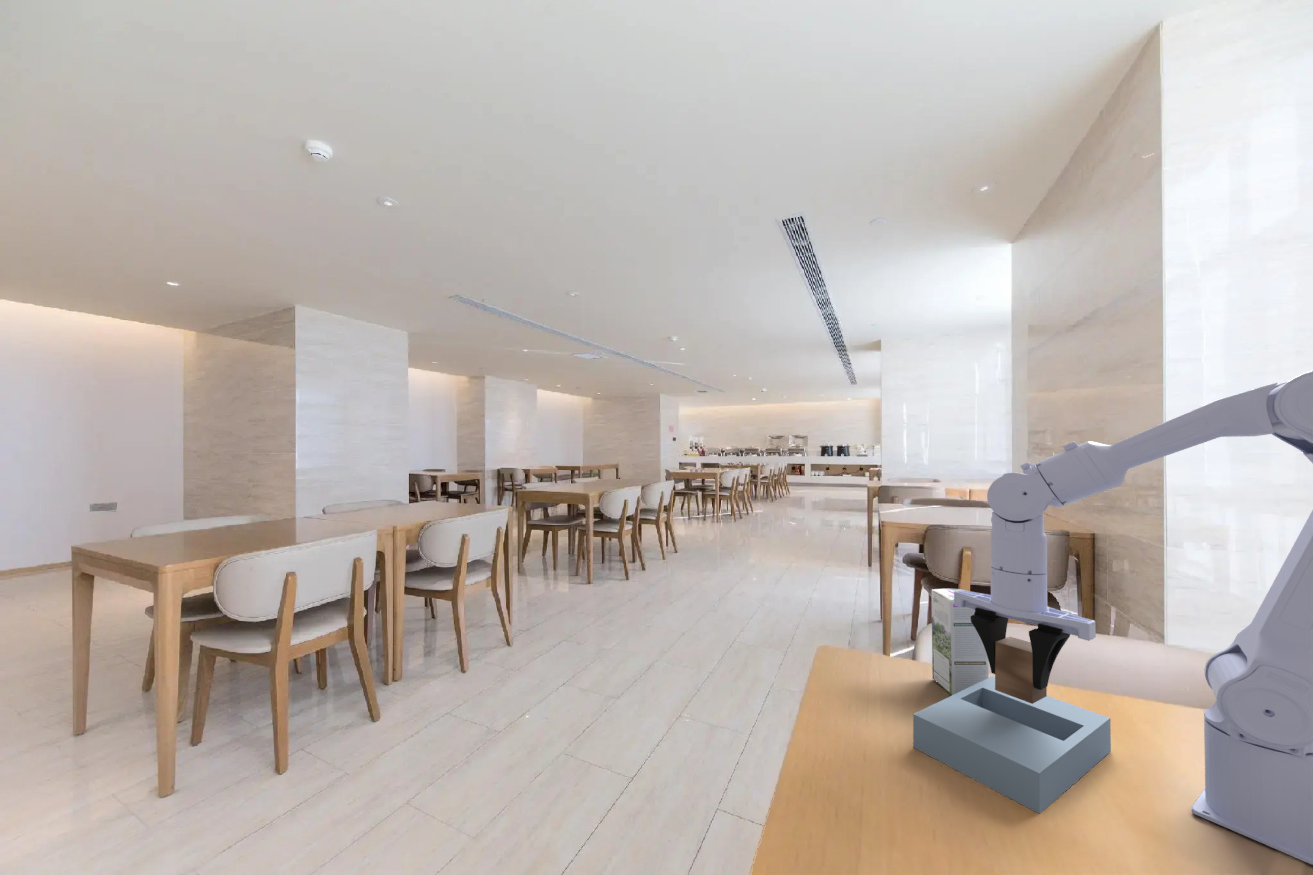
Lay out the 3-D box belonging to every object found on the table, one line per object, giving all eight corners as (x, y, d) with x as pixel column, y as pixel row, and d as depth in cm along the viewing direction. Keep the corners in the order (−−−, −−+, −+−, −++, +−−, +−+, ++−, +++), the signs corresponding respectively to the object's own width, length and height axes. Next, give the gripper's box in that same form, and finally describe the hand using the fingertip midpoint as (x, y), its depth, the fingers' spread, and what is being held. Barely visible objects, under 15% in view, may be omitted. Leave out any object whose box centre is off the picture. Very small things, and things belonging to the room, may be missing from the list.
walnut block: (1046, 696, 61) (1046, 646, 62) (1032, 703, 59) (1032, 652, 59) (1009, 683, 65) (1010, 636, 65) (995, 689, 63) (995, 641, 63)
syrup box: (991, 698, 73) (990, 598, 73) (950, 697, 73) (950, 598, 74) (967, 680, 79) (967, 588, 79) (930, 679, 79) (929, 587, 79)
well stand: (1110, 751, 60) (1110, 717, 60) (1039, 813, 50) (1039, 773, 50) (992, 704, 71) (992, 676, 71) (913, 747, 61) (913, 713, 61)
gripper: (1105, 578, 58) (1106, 695, 58) (972, 555, 70) (972, 652, 70) (1081, 586, 54) (1082, 712, 54) (945, 560, 67) (945, 662, 66)
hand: (1018, 679), depth 62 cm, fingers closed on walnut block, 4 cm apart
